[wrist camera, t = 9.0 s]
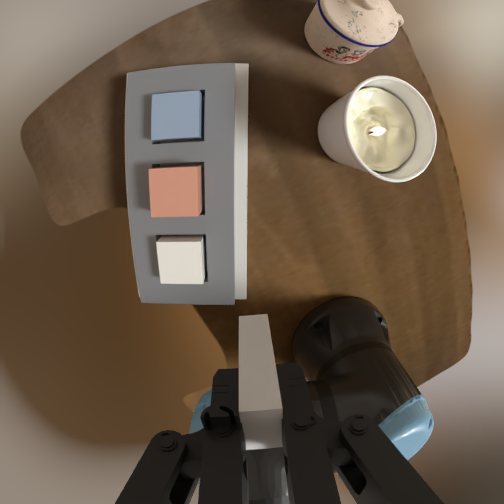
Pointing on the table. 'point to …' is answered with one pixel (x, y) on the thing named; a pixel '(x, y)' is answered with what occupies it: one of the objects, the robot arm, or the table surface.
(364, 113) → the candle holder
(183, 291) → the key console
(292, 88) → the table surface
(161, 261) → the white key
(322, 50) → the teacup with lid
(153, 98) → the blue key
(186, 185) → the terracotta key
